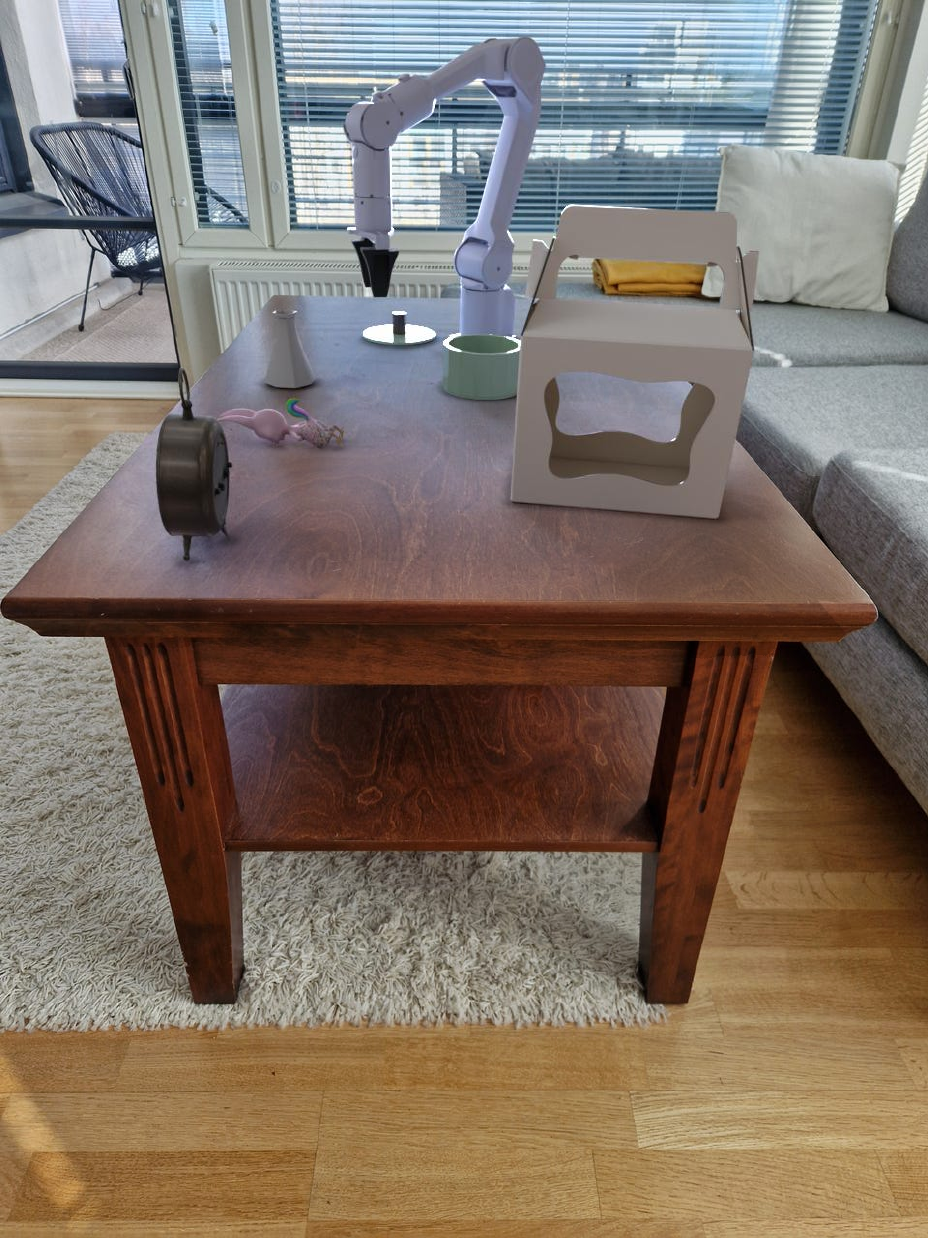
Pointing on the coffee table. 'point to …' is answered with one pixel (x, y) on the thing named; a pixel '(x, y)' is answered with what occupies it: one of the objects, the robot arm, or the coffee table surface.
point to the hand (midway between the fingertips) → (375, 291)
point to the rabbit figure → (284, 425)
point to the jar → (481, 366)
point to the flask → (288, 355)
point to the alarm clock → (192, 473)
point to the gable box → (634, 366)
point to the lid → (399, 332)
